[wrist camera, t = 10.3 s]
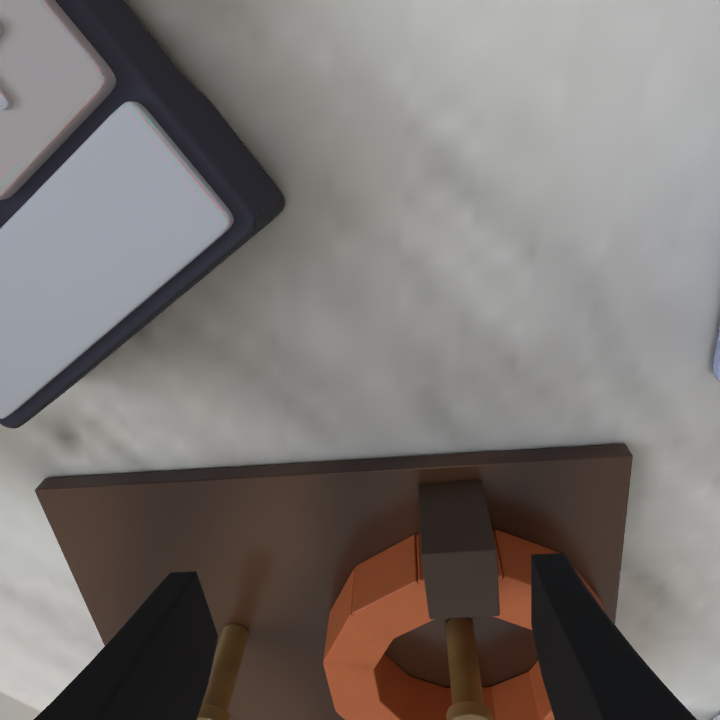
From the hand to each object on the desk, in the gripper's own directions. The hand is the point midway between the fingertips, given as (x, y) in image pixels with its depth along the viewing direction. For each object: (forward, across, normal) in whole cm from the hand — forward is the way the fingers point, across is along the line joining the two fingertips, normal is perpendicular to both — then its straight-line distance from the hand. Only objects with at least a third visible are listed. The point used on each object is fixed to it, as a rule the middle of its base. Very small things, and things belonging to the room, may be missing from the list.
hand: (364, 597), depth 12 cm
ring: (+9, -2, +11) cm, 14 cm away
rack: (+9, +3, +12) cm, 15 cm away
